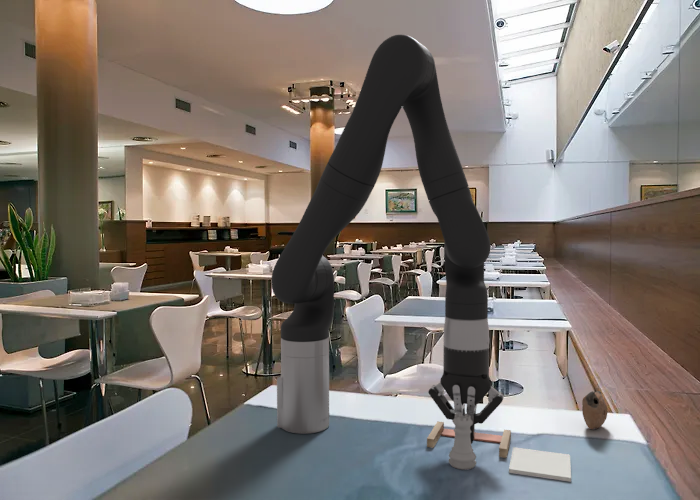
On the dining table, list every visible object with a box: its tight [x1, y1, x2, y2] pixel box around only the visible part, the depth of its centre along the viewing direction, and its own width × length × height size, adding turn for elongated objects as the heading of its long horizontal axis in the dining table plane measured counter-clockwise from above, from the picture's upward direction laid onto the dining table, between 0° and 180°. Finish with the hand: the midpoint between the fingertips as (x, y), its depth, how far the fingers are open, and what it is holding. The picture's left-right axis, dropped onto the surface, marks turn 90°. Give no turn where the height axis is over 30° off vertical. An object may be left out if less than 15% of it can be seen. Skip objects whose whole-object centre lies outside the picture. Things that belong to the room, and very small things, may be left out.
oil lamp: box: [581, 390, 608, 430], centre depth 103 cm, size 9×4×8 cm, turn 147°
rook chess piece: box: [448, 413, 477, 471], centre depth 88 cm, size 4×4×8 cm
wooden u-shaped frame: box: [426, 421, 512, 459], centre depth 97 cm, size 13×9×2 cm
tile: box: [508, 446, 572, 483], centre depth 88 cm, size 9×9×1 cm
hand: (465, 444), depth 93 cm, fingers closed
